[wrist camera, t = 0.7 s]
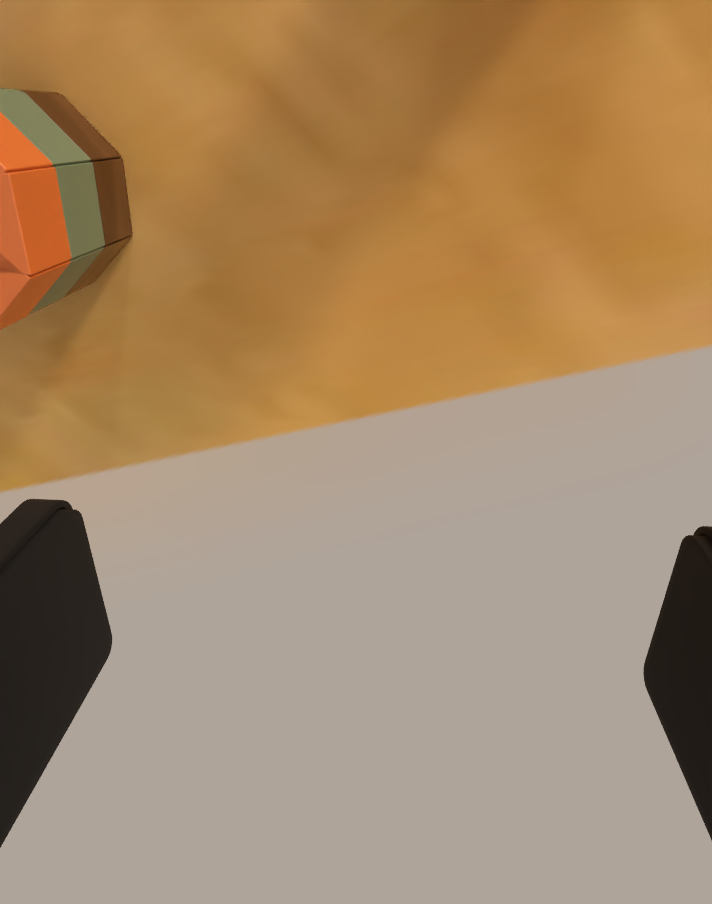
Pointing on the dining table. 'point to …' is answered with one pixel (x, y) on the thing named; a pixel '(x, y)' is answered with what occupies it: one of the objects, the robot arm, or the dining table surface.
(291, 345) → the dining table surface
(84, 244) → the ring middle
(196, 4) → the dining table surface
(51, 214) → the ring top
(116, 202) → the ring bottom
